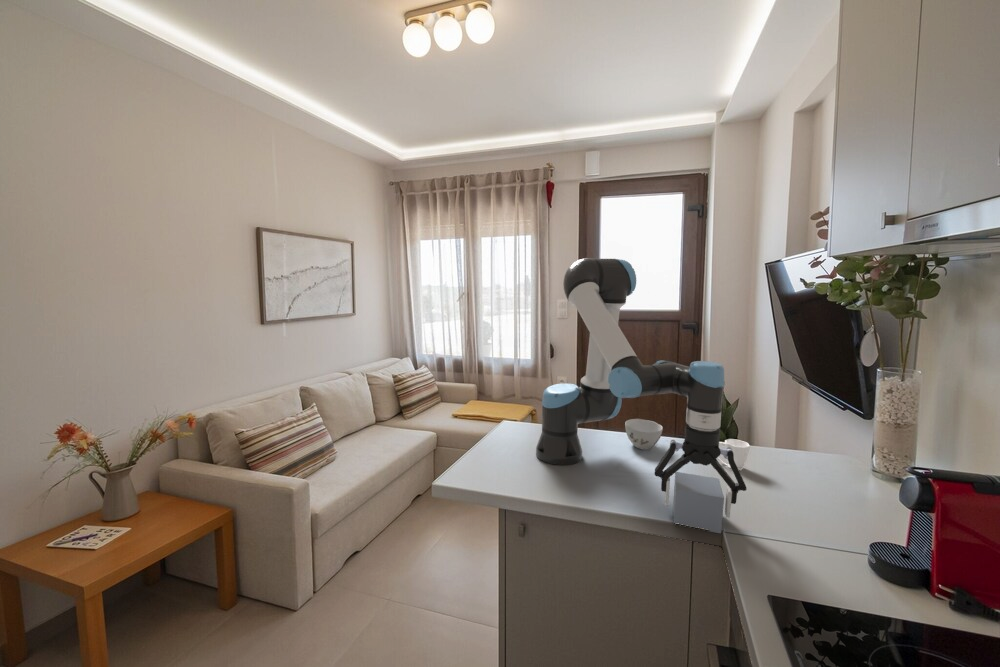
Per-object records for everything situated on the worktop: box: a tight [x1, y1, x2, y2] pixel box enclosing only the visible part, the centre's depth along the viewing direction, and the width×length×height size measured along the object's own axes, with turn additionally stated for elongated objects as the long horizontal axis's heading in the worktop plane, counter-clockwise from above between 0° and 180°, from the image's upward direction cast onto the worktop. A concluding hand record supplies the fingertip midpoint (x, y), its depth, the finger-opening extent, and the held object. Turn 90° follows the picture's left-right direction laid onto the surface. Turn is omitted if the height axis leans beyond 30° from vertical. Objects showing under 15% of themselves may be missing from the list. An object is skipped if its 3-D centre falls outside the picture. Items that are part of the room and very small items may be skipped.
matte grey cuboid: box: [672, 471, 725, 534], centre depth 104 cm, size 10×10×9 cm
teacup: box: [624, 418, 663, 450], centre depth 149 cm, size 15×12×8 cm
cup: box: [716, 438, 751, 471], centre depth 133 cm, size 7×10×8 cm
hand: (696, 509), depth 104 cm, fingers open, 13 cm apart
